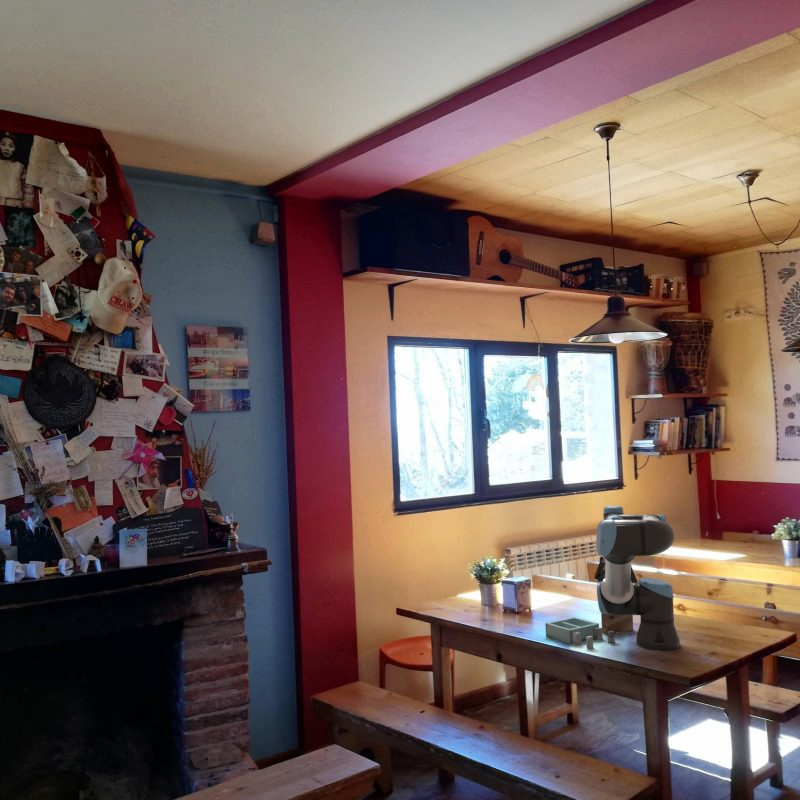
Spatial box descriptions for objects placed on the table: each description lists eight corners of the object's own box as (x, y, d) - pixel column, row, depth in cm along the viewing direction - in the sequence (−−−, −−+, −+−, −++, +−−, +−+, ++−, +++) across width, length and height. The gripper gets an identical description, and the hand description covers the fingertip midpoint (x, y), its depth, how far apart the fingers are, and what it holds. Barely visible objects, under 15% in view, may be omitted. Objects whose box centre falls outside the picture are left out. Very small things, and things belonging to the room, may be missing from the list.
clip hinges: (614, 642, 291) (614, 631, 291) (588, 648, 284) (588, 637, 284) (597, 637, 298) (597, 626, 298) (571, 643, 291) (571, 632, 291)
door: (635, 629, 308) (634, 606, 308) (609, 635, 300) (608, 612, 300) (627, 627, 311) (626, 604, 311) (601, 633, 303) (601, 610, 304)
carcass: (599, 637, 298) (598, 623, 299) (570, 643, 290) (569, 630, 291) (574, 629, 309) (574, 617, 310) (545, 636, 301) (545, 623, 302)
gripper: (646, 549, 298) (648, 605, 298) (597, 541, 319) (599, 594, 319) (633, 551, 294) (635, 608, 294) (584, 543, 315) (586, 596, 315)
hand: (616, 601), depth 306 cm, fingers open, 13 cm apart
